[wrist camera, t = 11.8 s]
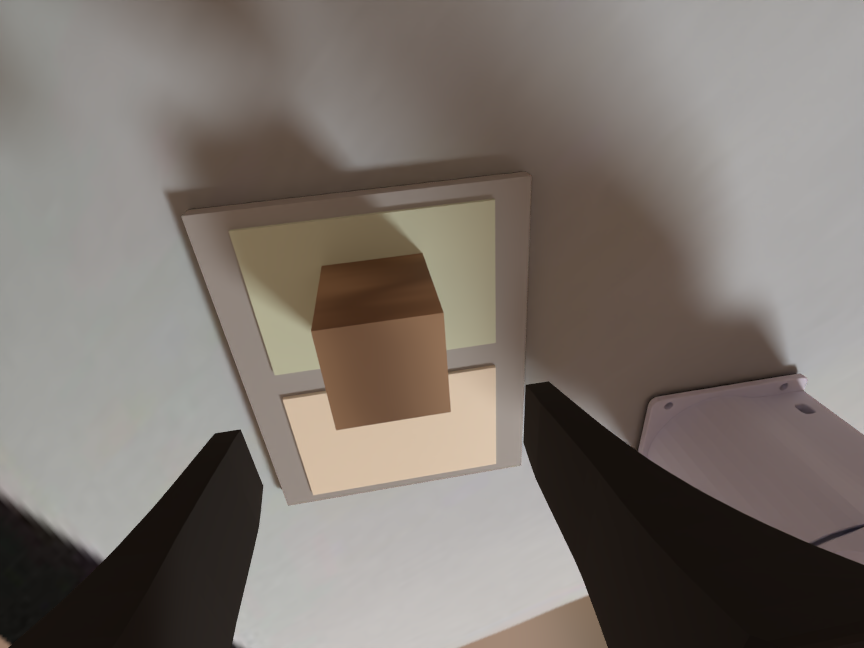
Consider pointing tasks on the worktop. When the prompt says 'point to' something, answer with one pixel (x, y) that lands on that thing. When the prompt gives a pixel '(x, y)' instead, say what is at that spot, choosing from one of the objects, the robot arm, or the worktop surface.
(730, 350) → the worktop surface
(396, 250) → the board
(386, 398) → the walnut block
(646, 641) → the robot arm
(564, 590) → the worktop surface
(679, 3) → the worktop surface
